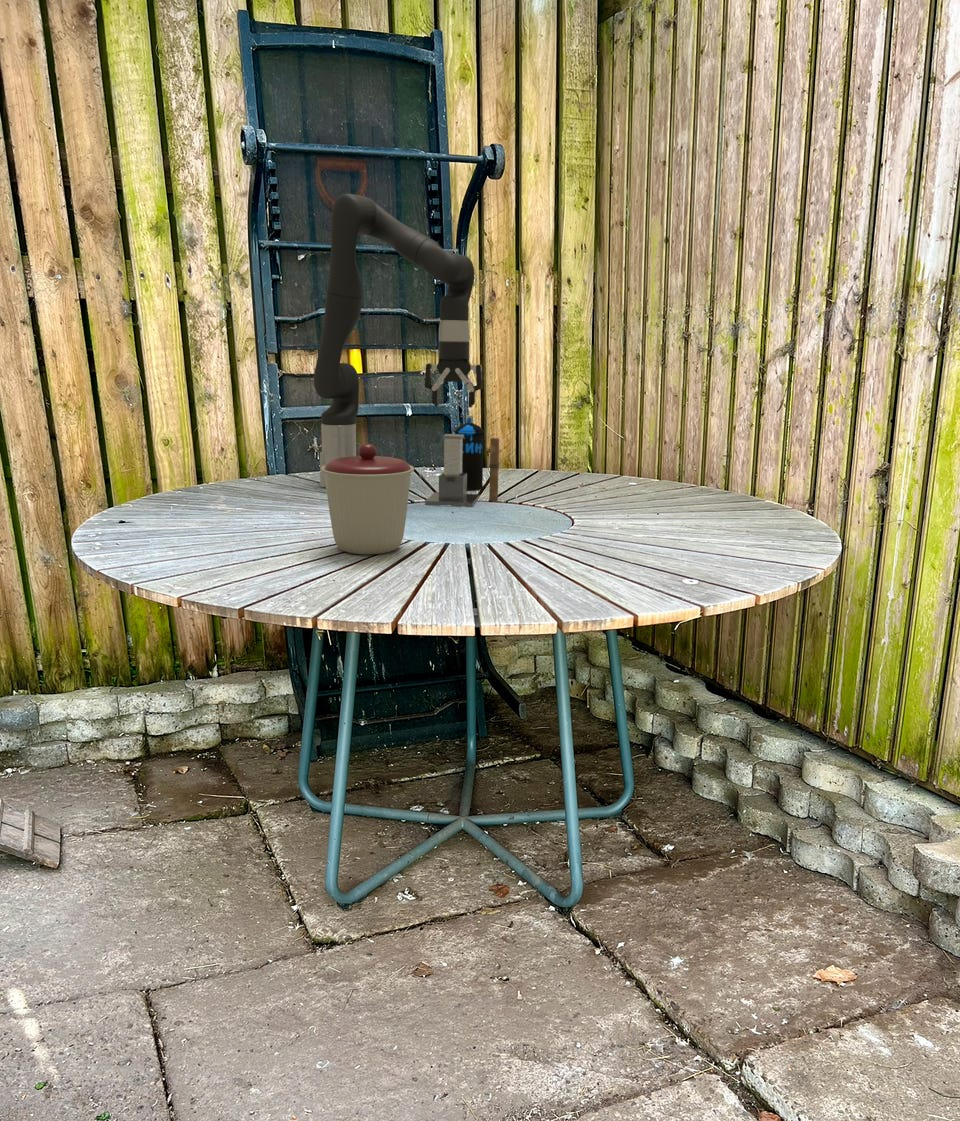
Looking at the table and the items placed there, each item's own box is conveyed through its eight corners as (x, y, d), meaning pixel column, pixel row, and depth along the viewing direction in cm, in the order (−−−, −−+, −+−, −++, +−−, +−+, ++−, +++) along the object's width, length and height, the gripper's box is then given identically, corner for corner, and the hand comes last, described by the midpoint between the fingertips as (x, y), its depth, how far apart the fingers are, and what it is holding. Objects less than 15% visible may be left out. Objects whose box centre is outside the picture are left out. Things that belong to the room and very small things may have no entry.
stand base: (425, 504, 224) (425, 477, 222) (434, 496, 235) (434, 469, 233) (472, 507, 222) (472, 479, 220) (479, 498, 234) (479, 471, 232)
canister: (305, 547, 179) (301, 442, 174) (376, 534, 191) (375, 436, 186) (360, 565, 167) (358, 452, 161) (432, 550, 179) (433, 445, 174)
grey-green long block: (442, 497, 226) (442, 436, 223) (445, 494, 231) (446, 433, 227) (460, 498, 226) (461, 436, 222) (463, 495, 230) (464, 434, 226)
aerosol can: (454, 485, 252) (455, 413, 247) (483, 486, 252) (485, 414, 247) (452, 490, 244) (453, 416, 239) (482, 491, 244) (484, 417, 239)
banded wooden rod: (488, 500, 230) (490, 438, 226) (489, 499, 232) (491, 437, 228) (497, 501, 230) (498, 439, 226) (498, 499, 232) (499, 438, 228)
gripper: (422, 339, 216) (422, 407, 220) (480, 340, 214) (479, 408, 218) (428, 339, 223) (428, 404, 227) (485, 340, 221) (483, 406, 225)
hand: (453, 406), depth 223 cm, fingers open, 8 cm apart
